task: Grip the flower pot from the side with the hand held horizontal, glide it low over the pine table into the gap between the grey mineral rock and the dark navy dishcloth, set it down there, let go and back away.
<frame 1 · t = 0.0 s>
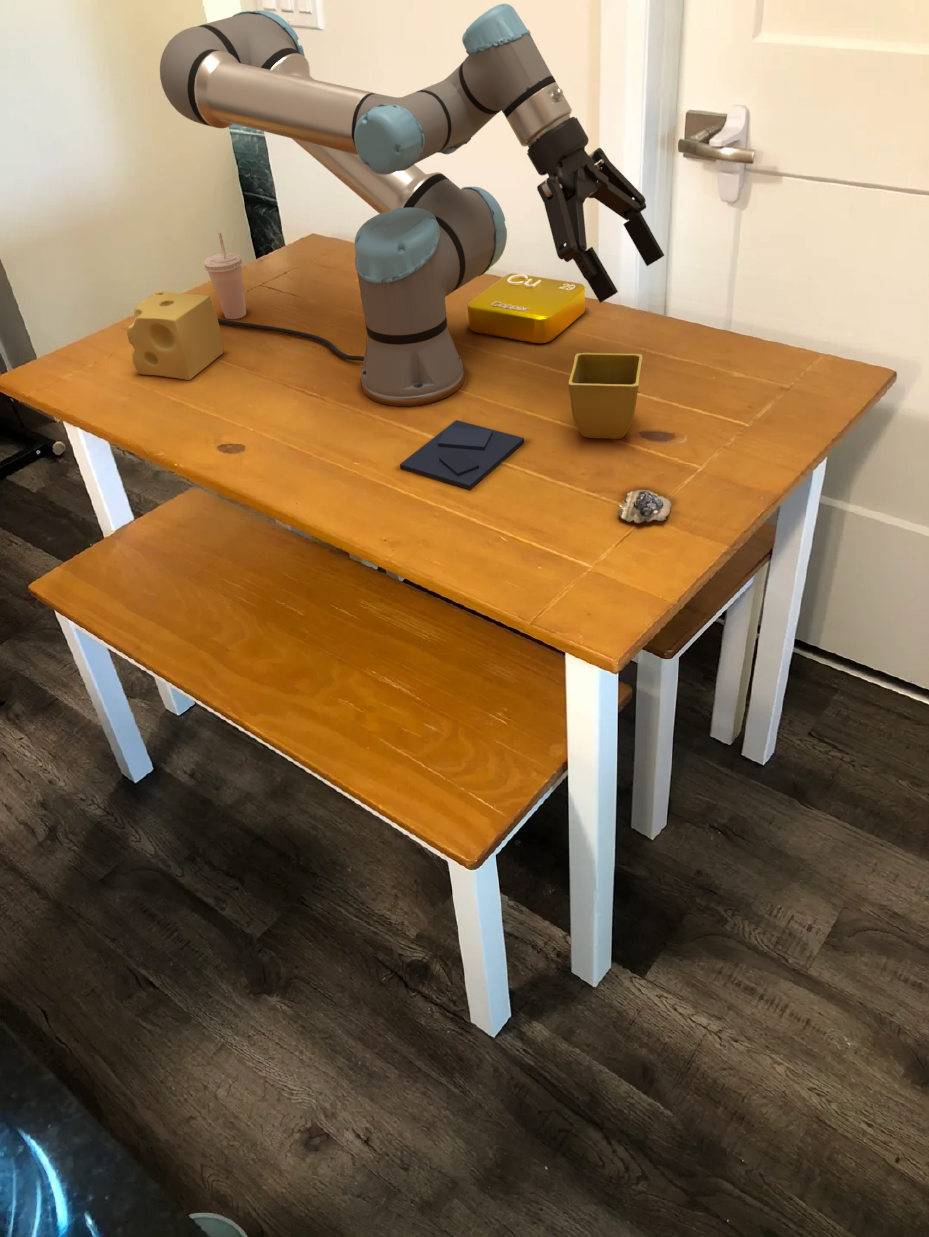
hand: (633, 279, 131), 15 cm above the table, tool tilted 35°, fingers open, 13 cm apart
grey mineral rock: (642, 509, 117), on the table
element tile: (527, 321, 161), on the table
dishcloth: (463, 455, 130), on the table
cheese: (183, 365, 158), on the table
flower pot: (605, 431, 132), on the table
smoothie: (235, 316, 172), on the table
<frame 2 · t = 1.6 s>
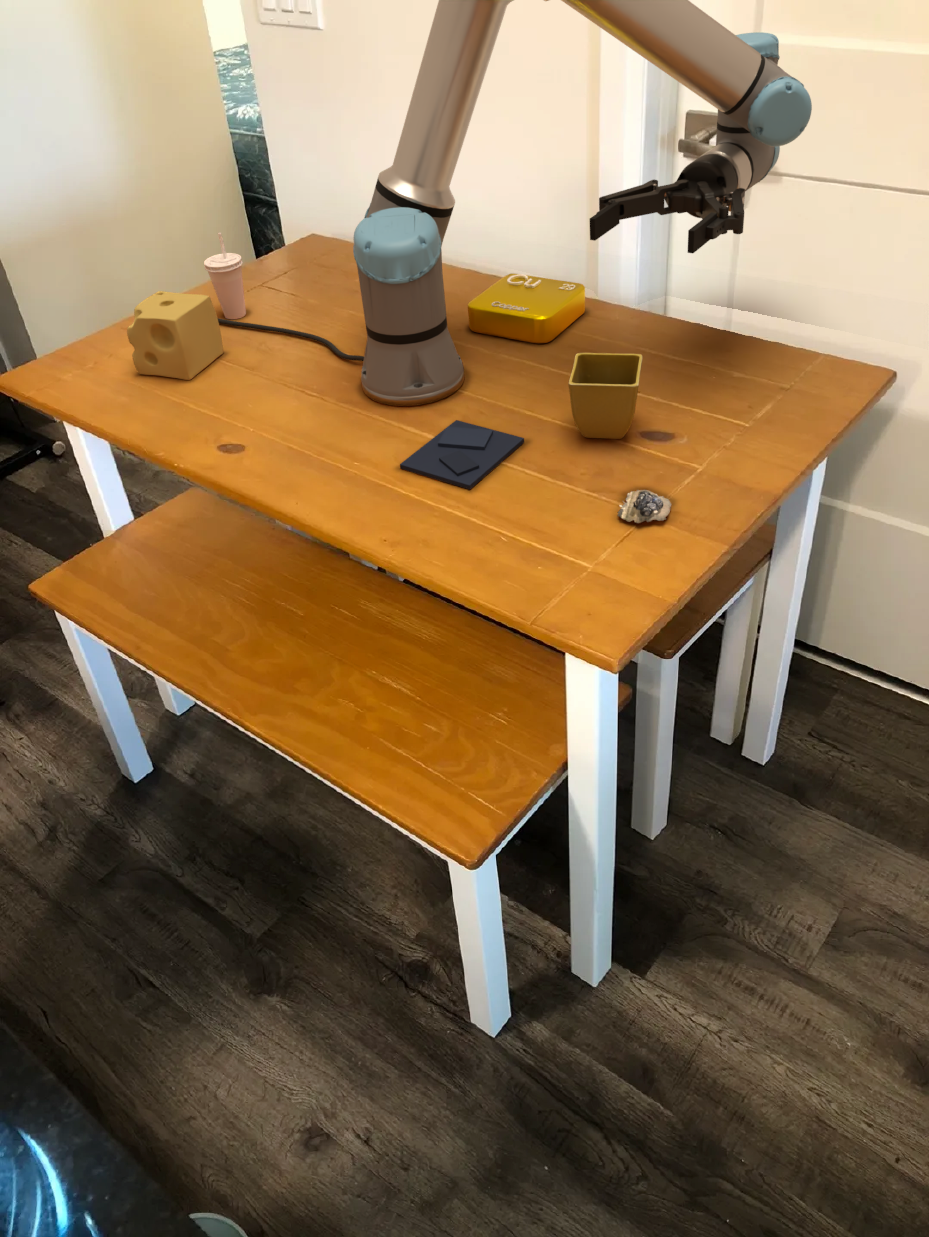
hand: (640, 235, 123), 23 cm above the table, tool horizontal, fingers open, 13 cm apart
nothing on the table moved.
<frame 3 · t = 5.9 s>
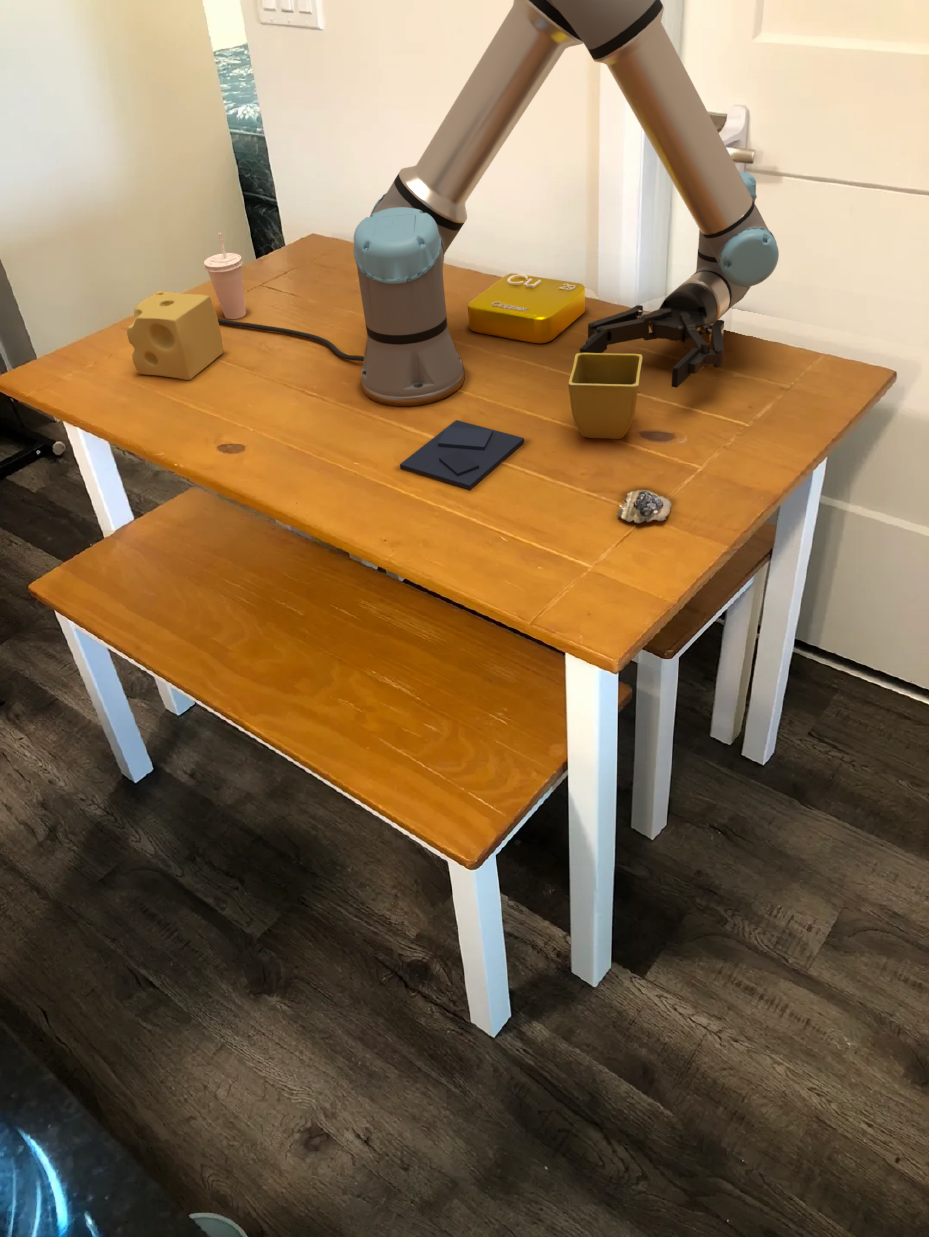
hand: (627, 368, 131), 6 cm above the table, tool horizontal, fingers open, 13 cm apart
nothing on the table moved.
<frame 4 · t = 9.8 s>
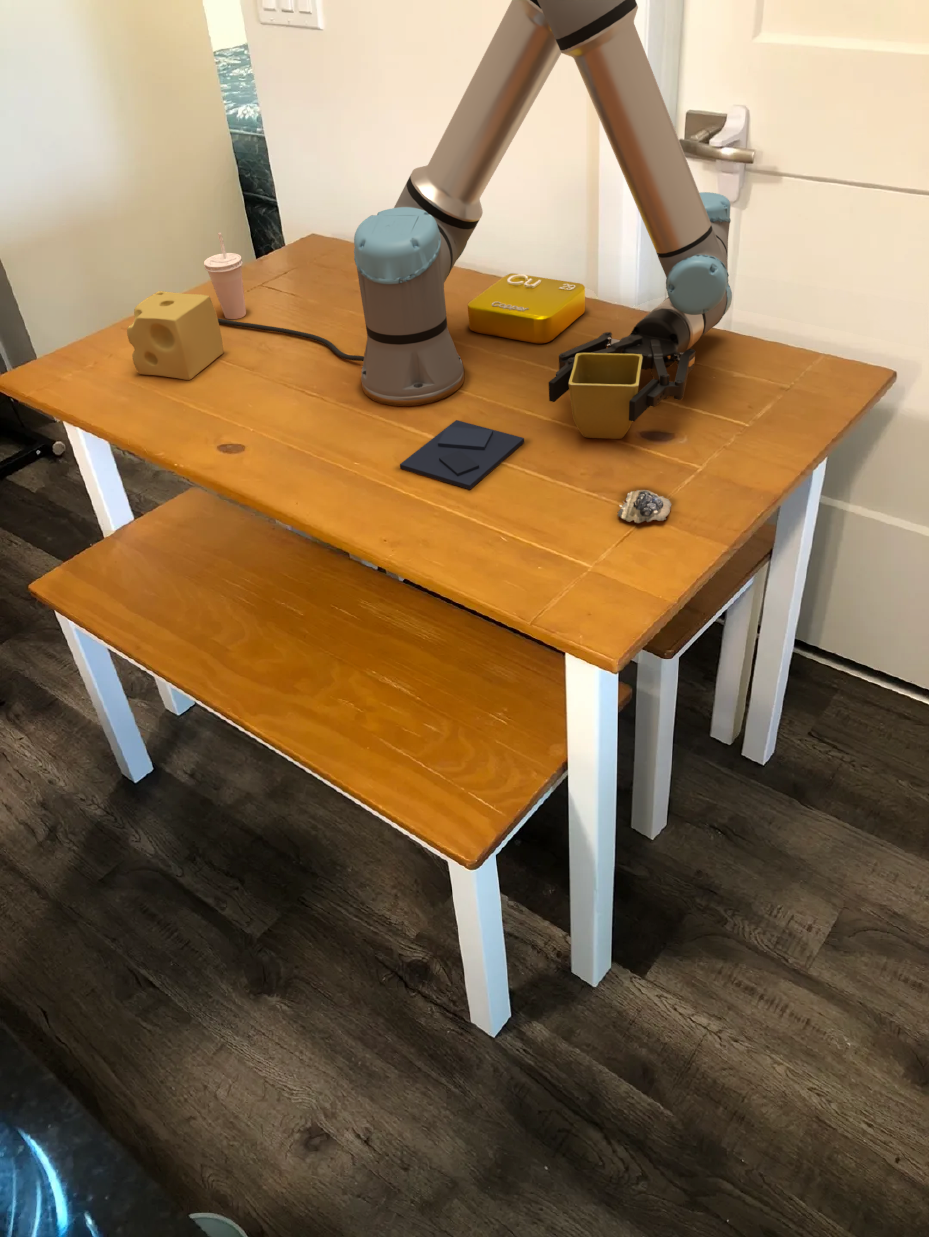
hand: (590, 401, 125), 6 cm above the table, tool horizontal, fingers closed on flower pot, 11 cm apart
flower pot: (605, 431, 132), on the table, touching gripper
everything else where it was.
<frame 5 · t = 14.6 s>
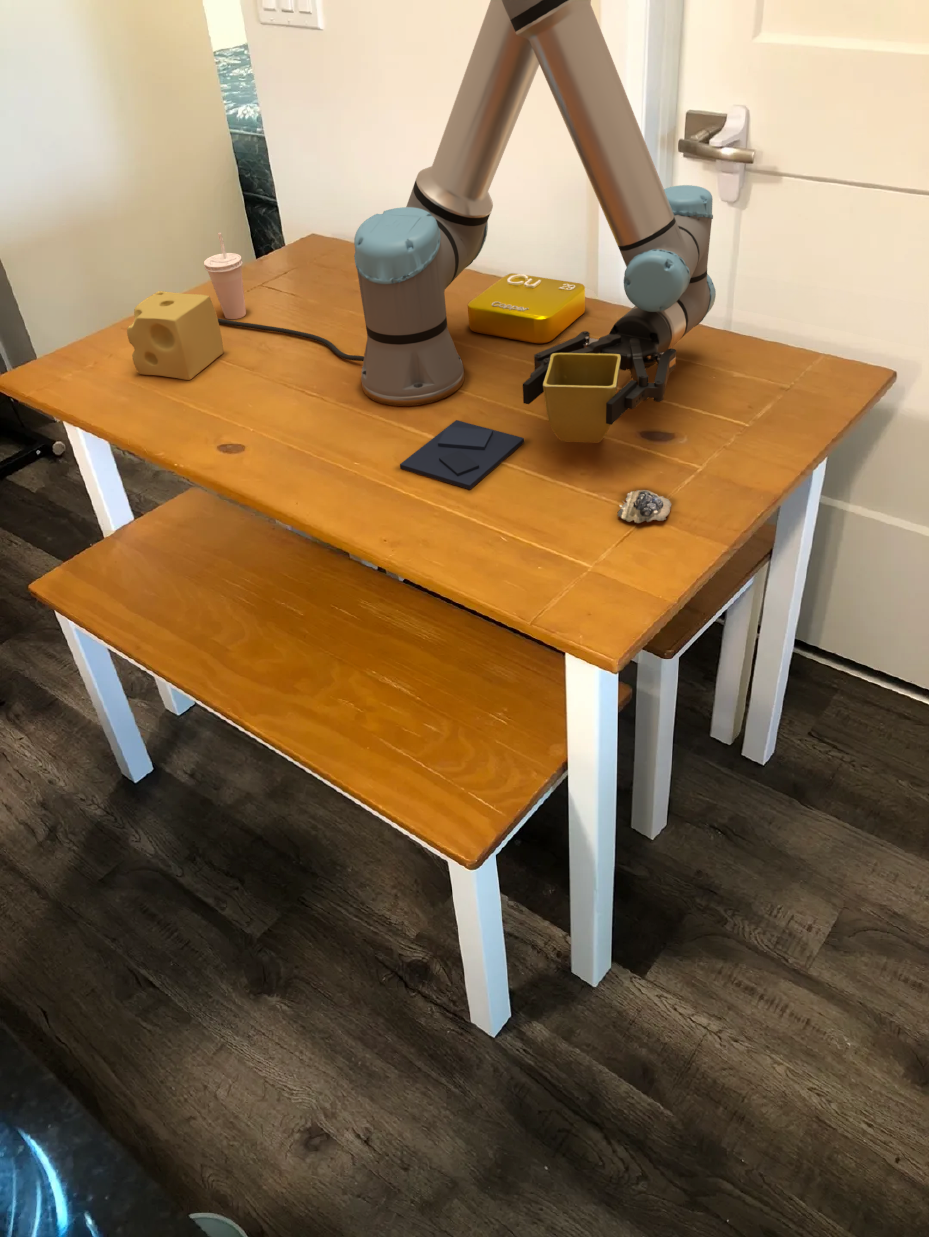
hand: (566, 404, 120), 9 cm above the table, tool horizontal, fingers closed on flower pot, 11 cm apart
flower pot: (582, 435, 126), point 3 cm above the table, touching gripper
everything else where it was.
when the fingers open (6 cm above the table, at t = 19.7 s): flower pot stays where it is, on the table.
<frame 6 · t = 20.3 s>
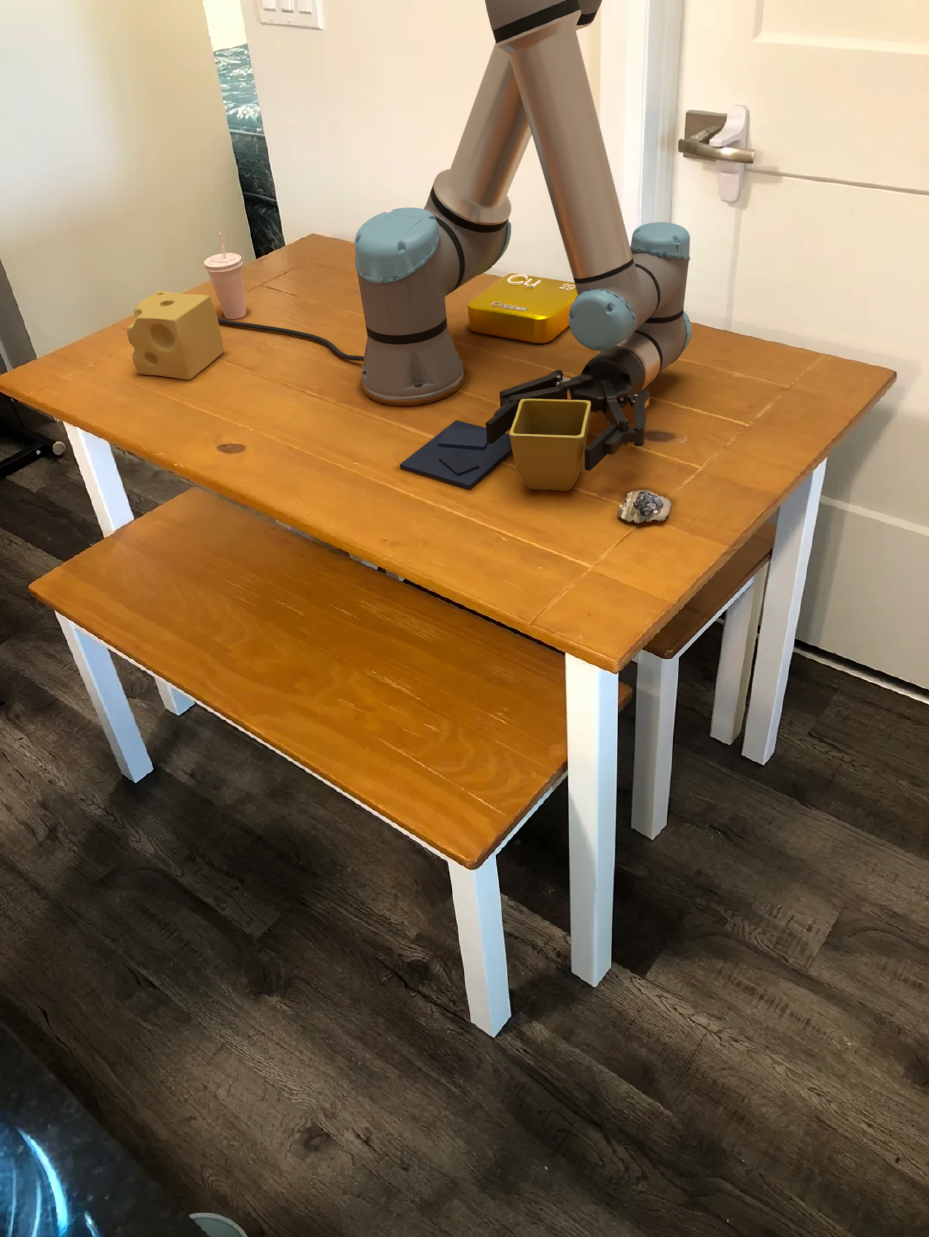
hand: (536, 446, 117), 7 cm above the table, tool horizontal, fingers open, 13 cm apart
flower pot: (552, 482, 123), on the table
everything else where it was.
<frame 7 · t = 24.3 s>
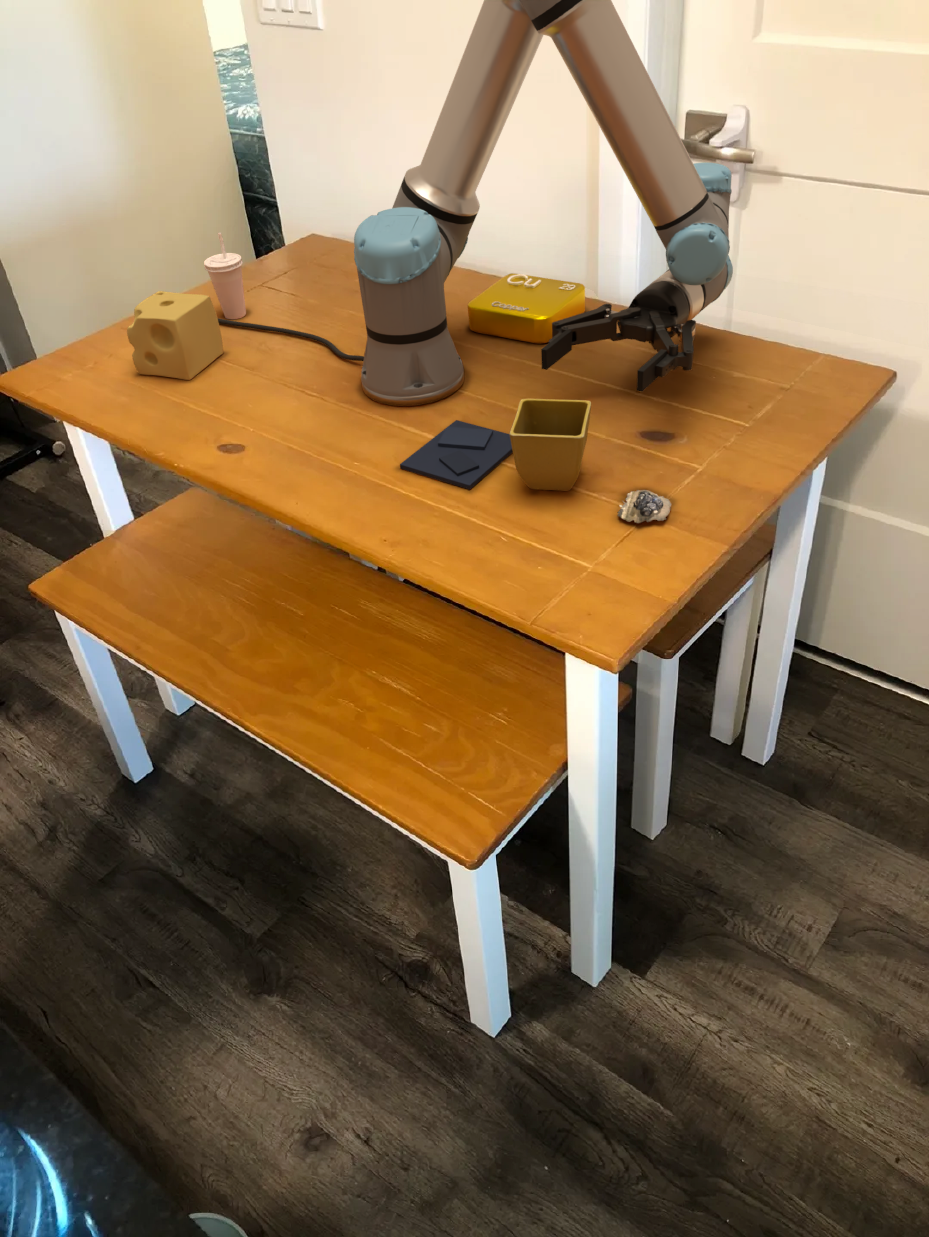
hand: (590, 370, 123), 10 cm above the table, tool horizontal, fingers open, 13 cm apart
nothing on the table moved.
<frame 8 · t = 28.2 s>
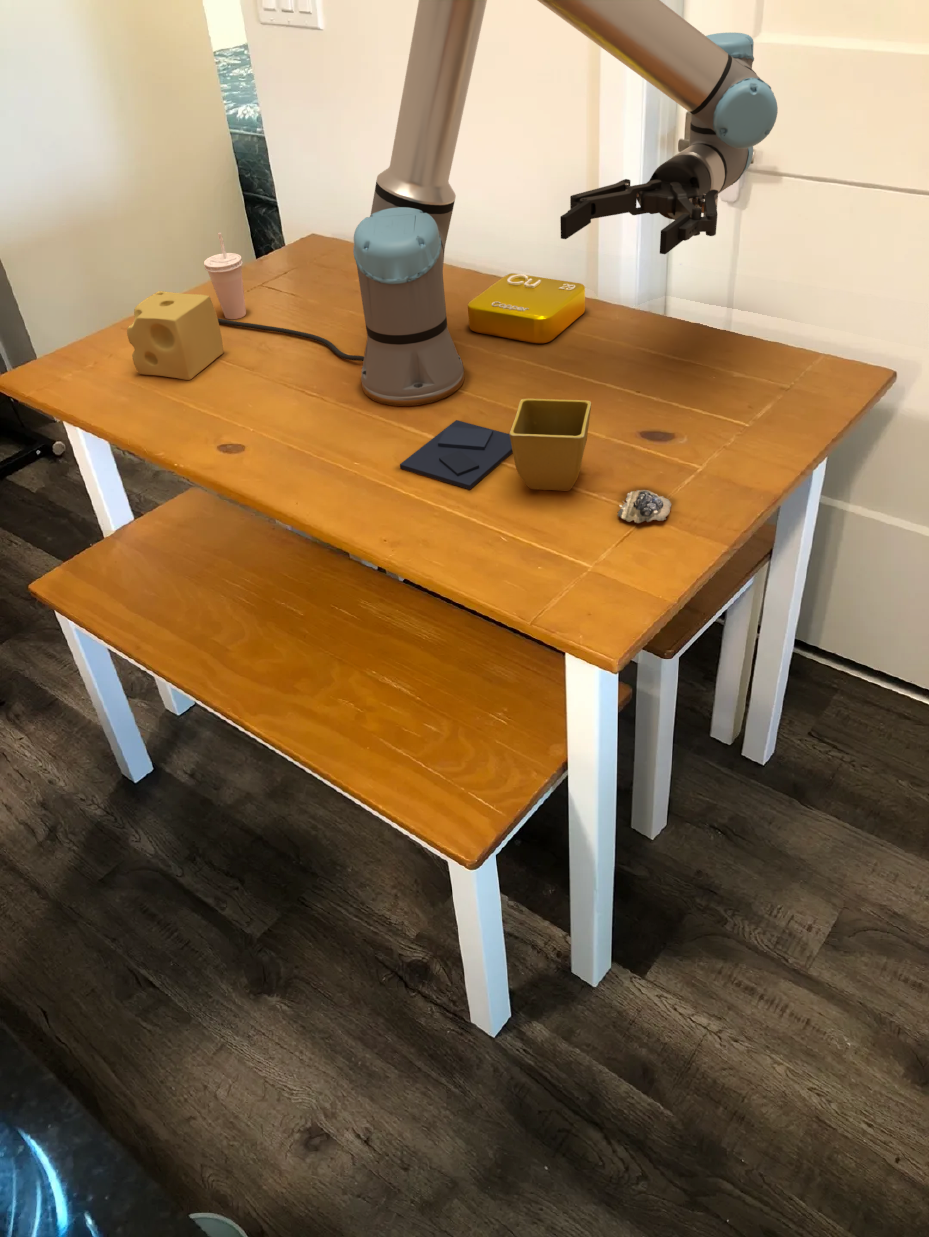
hand: (611, 235, 120), 24 cm above the table, tool horizontal, fingers open, 13 cm apart
nothing on the table moved.
at the end: flower pot inside the target area (0.1 cm from its centre), on the table; flower pot tilted 0°; the gripper is holding nothing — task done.
